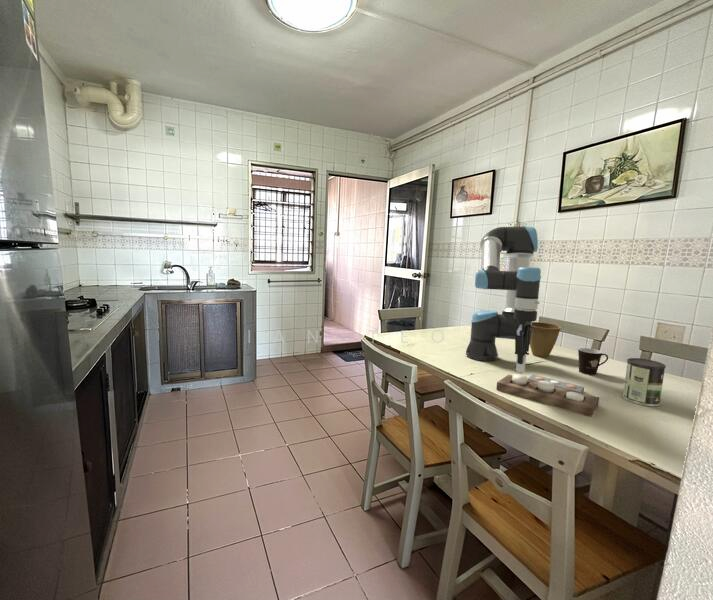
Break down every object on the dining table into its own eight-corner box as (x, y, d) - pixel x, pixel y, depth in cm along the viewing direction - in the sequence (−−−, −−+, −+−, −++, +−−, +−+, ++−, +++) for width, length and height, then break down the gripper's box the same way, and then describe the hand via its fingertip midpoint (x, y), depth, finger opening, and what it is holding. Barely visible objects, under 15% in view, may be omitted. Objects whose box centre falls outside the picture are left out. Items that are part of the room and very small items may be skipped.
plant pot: (521, 355, 172) (524, 324, 170) (528, 349, 183) (531, 320, 181) (554, 361, 163) (557, 329, 160) (559, 355, 174) (563, 325, 172)
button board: (496, 389, 127) (496, 382, 126) (508, 381, 135) (508, 374, 135) (591, 417, 106) (592, 408, 106) (598, 405, 115) (599, 397, 114)
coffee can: (656, 398, 121) (661, 361, 120) (663, 409, 113) (669, 369, 111) (620, 392, 127) (625, 356, 125) (624, 401, 118) (629, 363, 116)
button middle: (535, 389, 120) (536, 383, 120) (540, 386, 124) (540, 379, 123) (551, 393, 117) (552, 387, 116) (555, 389, 120) (555, 383, 120)
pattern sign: (526, 383, 134) (527, 377, 133) (532, 379, 139) (532, 373, 138) (579, 397, 121) (580, 391, 121) (583, 391, 126) (584, 386, 126)
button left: (509, 382, 126) (510, 376, 126) (514, 379, 130) (515, 373, 130) (524, 386, 123) (524, 380, 123) (528, 383, 126) (529, 376, 126)
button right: (564, 401, 114) (564, 394, 114) (567, 397, 118) (568, 390, 117) (581, 406, 111) (582, 399, 110) (584, 401, 114) (585, 394, 114)
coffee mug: (577, 373, 146) (579, 351, 145) (574, 368, 154) (577, 346, 152) (609, 378, 141) (612, 355, 139) (605, 372, 148) (608, 350, 147)
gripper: (531, 312, 115) (525, 378, 118) (542, 308, 125) (536, 369, 128) (508, 309, 120) (503, 372, 124) (521, 306, 130) (515, 365, 133)
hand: (520, 371), depth 126 cm, fingers closed
